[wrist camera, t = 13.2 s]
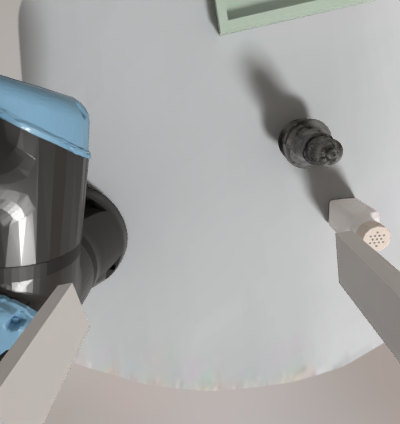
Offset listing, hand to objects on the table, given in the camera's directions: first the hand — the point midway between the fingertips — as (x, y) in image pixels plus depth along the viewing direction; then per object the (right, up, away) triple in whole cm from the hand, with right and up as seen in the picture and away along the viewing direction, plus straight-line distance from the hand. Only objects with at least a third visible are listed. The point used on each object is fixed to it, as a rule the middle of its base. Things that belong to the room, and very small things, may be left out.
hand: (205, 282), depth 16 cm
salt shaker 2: (+20, +4, +29) cm, 36 cm away
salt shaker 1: (+13, +13, +26) cm, 32 cm away
